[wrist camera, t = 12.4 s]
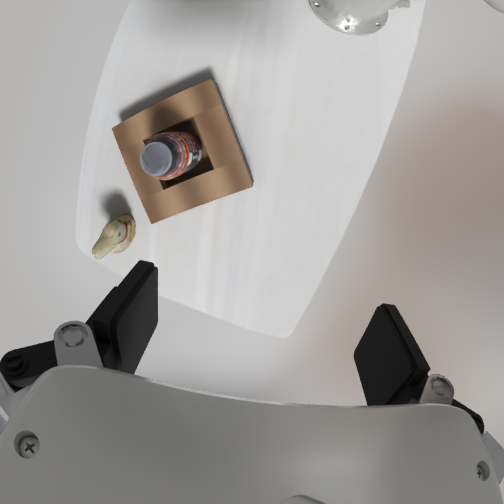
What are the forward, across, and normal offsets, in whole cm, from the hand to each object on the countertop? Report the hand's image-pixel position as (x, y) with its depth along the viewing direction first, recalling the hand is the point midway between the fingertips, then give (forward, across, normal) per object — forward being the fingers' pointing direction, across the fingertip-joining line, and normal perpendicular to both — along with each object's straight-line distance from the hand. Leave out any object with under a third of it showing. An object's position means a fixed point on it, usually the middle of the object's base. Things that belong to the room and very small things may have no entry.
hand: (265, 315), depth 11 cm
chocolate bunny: (+33, +22, +13) cm, 42 cm away
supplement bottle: (+32, +13, -2) cm, 34 cm away
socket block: (+32, +13, -2) cm, 35 cm away
